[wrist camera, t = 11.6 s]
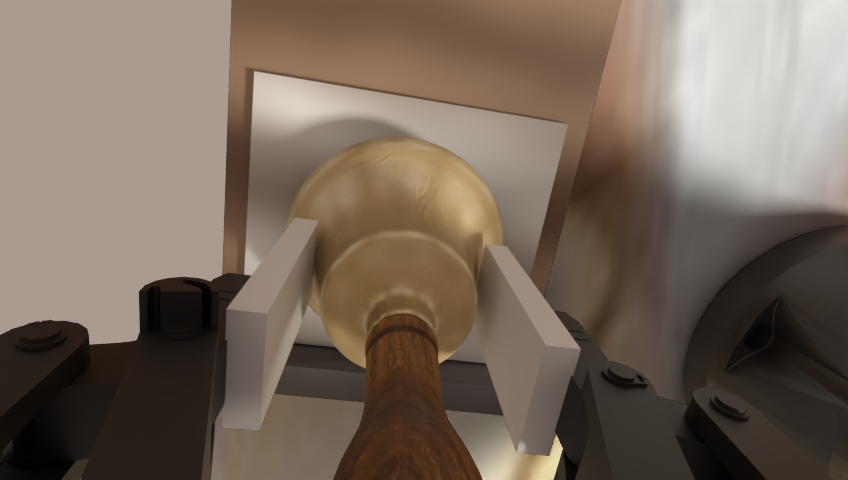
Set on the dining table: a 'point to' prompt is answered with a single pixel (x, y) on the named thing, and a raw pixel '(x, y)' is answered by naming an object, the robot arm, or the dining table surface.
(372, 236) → the hand bell
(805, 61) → the dining table surface
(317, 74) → the brown wooden display stand
